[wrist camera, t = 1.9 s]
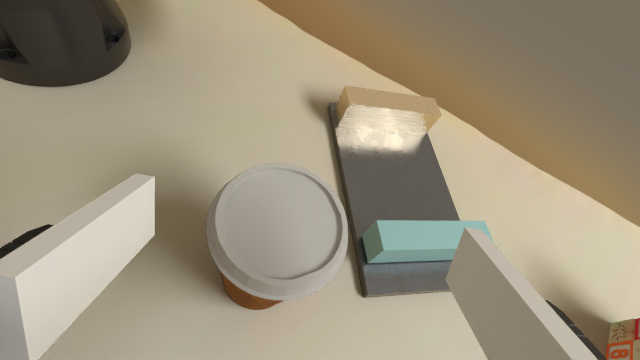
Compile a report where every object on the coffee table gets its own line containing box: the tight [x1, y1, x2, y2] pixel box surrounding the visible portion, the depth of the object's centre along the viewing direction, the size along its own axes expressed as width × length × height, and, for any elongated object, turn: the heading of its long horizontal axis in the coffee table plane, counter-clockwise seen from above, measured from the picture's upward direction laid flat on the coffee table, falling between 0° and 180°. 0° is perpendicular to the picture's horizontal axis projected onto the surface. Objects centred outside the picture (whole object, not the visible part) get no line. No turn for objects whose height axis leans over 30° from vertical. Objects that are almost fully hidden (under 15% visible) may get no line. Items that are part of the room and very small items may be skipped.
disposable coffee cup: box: [206, 163, 348, 310], centre depth 26 cm, size 10×10×12 cm
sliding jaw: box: [362, 220, 494, 263], centre depth 35 cm, size 3×13×4 cm, turn 97°
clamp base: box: [328, 86, 460, 298], centre depth 39 cm, size 25×14×5 cm, turn 7°
